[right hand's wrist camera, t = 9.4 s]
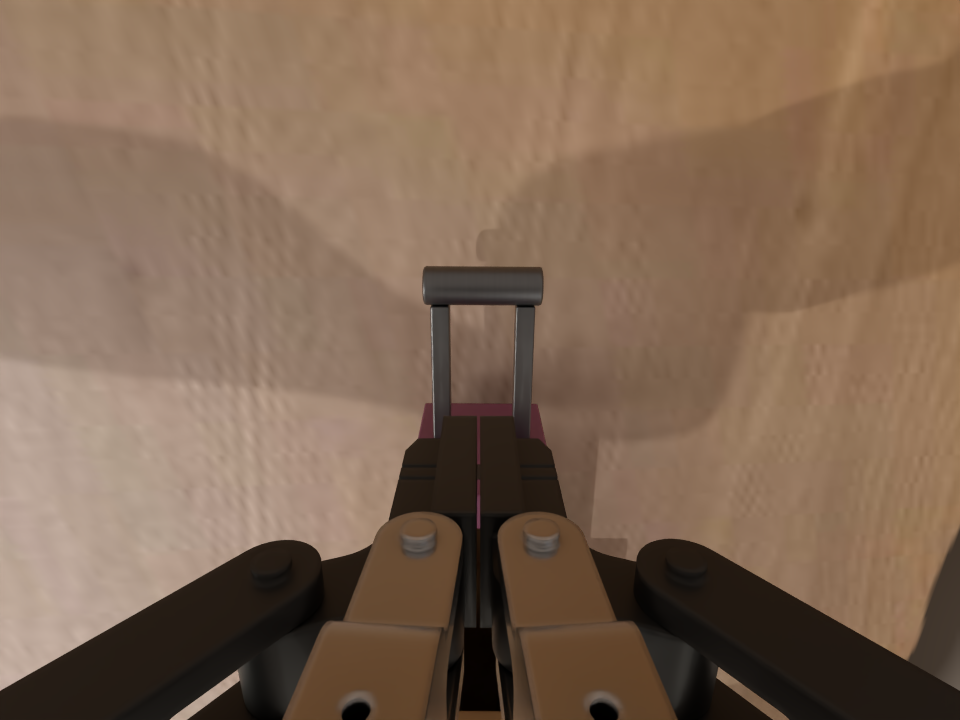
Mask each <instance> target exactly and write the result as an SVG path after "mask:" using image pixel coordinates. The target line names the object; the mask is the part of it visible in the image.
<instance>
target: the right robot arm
mask: <svg viewBox="0 0 960 720" xmlns="http://www.w3.org/2000/svg"><path fill="white" fill-rule="evenodd" d="M476 591H477V416H443V423H442V430H441V438H418V439H417V440H416V441H415V442H414V443H413V444H412V445H411V446H410V447H409V448H408V449H407V450H406V451H405V455H404V459H403V463H402V468H401V472H400V476H399V480H398V484H397V488H396V492H395V496H394V501H393V505H392V509H391V513H390V517H389V521H388V522H386V523H385V524H384V525H383V526H382V527H381V528H380V529H379V531H378V532H377V534H376V536H375V539H374V541H373V544H371V545H370V546H368V547H367V548H365V549H363V550H361V551H358V552H356V553H353V554H350V555H346V556H343V557H338V558H334V559H329V560H325V561H321V557H320V555H319V553H318V551H317V550H316V549H315V548H314V547H312V546H311V545H309V544H307V543H304V542H301V541H295V540H280V541H273V542H268V543H265V544H261V545H259V546H256V547H254V548H252V549H250V550H248V551H246V552H244V553H242V554H240V555H239V556H237V557H235V558H233V559H232V560H230V561H228V562H226V563H225V564H223V565H221V566H219V567H218V568H216V569H214V570H212V571H210V572H209V573H207V574H205V575H203V576H202V577H200V578H198V579H196V580H195V581H193V582H191V583H189V584H188V585H186V586H184V587H182V588H181V589H179V590H177V591H175V592H173V593H172V594H170V595H168V596H166V597H165V598H163V599H161V600H159V601H158V602H156V603H154V604H152V605H151V606H149V607H147V608H145V609H144V610H142V611H140V612H138V613H137V614H135V615H133V616H131V617H129V618H128V619H126V620H124V621H122V622H121V623H119V624H117V625H115V626H114V627H112V628H110V629H108V630H107V631H105V632H103V633H101V634H100V635H98V636H96V637H94V638H92V639H91V640H89V641H87V642H85V643H84V644H82V645H80V646H78V647H77V648H75V649H73V650H71V651H70V652H68V653H66V654H64V655H63V656H61V657H59V658H57V659H56V660H54V661H52V662H50V663H48V664H47V665H45V666H43V667H41V668H40V669H38V670H36V671H34V672H33V673H31V674H29V675H27V676H26V677H24V678H22V679H20V680H19V681H17V682H15V683H13V684H11V685H10V686H8V687H6V688H4V689H3V690H1V691H0V720H170V719H171V718H172V717H173V716H174V715H176V714H177V713H178V712H180V711H181V710H182V709H184V708H185V707H186V706H188V705H189V704H191V703H192V702H193V701H195V700H196V699H198V698H199V697H200V696H202V695H203V694H204V693H206V692H207V691H209V690H210V689H211V688H213V687H214V686H215V685H217V684H218V683H220V682H221V681H222V680H224V679H225V678H227V677H228V676H229V675H231V674H232V673H233V672H235V671H236V670H238V673H239V678H240V681H239V682H238V683H236V684H235V685H234V686H232V687H231V688H229V689H228V690H227V691H225V692H224V693H223V694H221V695H220V696H219V697H217V698H216V699H215V700H213V701H212V702H211V703H209V704H208V705H207V706H205V707H204V708H203V709H201V710H200V711H198V712H197V713H196V714H194V715H193V716H192V717H190V718H189V719H188V720H458V717H459V708H460V700H461V691H462V683H463V675H464V627H476ZM480 628H492V646H493V651H494V654H495V656H496V675H497V683H498V691H499V700H500V708H501V717H502V720H772V719H771V718H770V717H768V716H767V715H766V714H764V713H763V712H762V711H760V710H759V709H757V708H756V707H755V706H753V705H752V704H751V703H749V702H748V701H747V700H745V699H744V698H743V697H741V696H740V695H739V694H737V693H736V692H735V691H733V690H732V689H731V688H729V687H728V686H726V685H725V684H724V683H722V682H721V681H720V680H718V679H717V678H716V676H717V671H718V667H720V668H721V669H722V670H724V671H725V672H727V673H728V674H729V675H731V676H732V677H733V678H735V679H736V680H738V681H739V682H740V683H742V684H743V685H744V686H746V687H747V688H749V689H750V690H751V691H753V692H754V693H756V694H757V695H758V696H760V697H761V698H762V699H764V700H765V701H767V702H768V703H769V704H771V705H772V706H773V707H775V708H776V709H778V710H779V711H780V712H782V713H783V714H784V715H785V716H786V717H787V718H788V719H789V720H960V691H959V690H957V689H956V688H954V687H952V686H950V685H948V684H947V683H945V682H943V681H941V680H940V679H938V678H936V677H934V676H933V675H931V674H929V673H927V672H926V671H924V670H922V669H920V668H919V667H917V666H915V665H913V664H911V663H910V662H908V661H906V660H904V659H903V658H901V657H899V656H897V655H896V654H894V653H892V652H890V651H889V650H887V649H885V648H883V647H882V646H880V645H878V644H876V643H875V642H873V641H871V640H869V639H867V638H866V637H864V636H862V635H860V634H859V633H857V632H855V631H853V630H852V629H850V628H848V627H846V626H845V625H843V624H841V623H839V622H838V621H836V620H834V619H832V618H831V617H829V616H827V615H825V614H823V613H822V612H820V611H818V610H816V609H815V608H813V607H811V606H809V605H808V604H806V603H804V602H802V601H801V600H799V599H797V598H795V597H794V596H792V595H790V594H788V593H786V592H785V591H783V590H781V589H779V588H778V587H776V586H774V585H772V584H771V583H769V582H767V581H765V580H764V579H762V578H760V577H758V576H757V575H755V574H753V573H751V572H750V571H748V570H746V569H744V568H742V567H741V566H739V565H737V564H735V563H734V562H732V561H730V560H728V559H727V558H725V557H723V556H721V555H720V554H718V553H716V552H714V551H713V550H711V549H709V548H707V547H705V546H702V545H700V544H697V543H694V542H690V541H686V540H680V539H662V540H657V541H653V542H651V543H649V544H647V545H645V546H644V547H643V548H642V549H641V550H640V551H639V553H638V556H637V561H636V562H635V561H630V560H626V559H621V558H617V557H612V556H609V555H605V554H602V553H600V552H597V551H595V550H593V549H591V548H589V547H588V544H587V541H586V539H585V536H584V534H583V532H582V531H581V529H580V528H579V527H578V526H577V525H576V524H575V523H574V522H572V521H570V520H569V519H567V516H566V512H565V507H564V503H563V499H562V494H561V490H560V486H559V482H558V480H557V473H556V469H555V464H554V460H553V456H552V451H551V450H550V449H549V448H548V447H547V446H546V445H545V444H544V443H543V442H542V441H541V440H540V439H539V438H516V431H515V423H514V416H480Z"/></svg>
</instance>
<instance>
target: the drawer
mask: <svg viewBox="0 0 960 720" xmlns="http://www.w3.org/2000/svg"><path fill="white" fill-rule="evenodd" d="M422 288H423V301H424V303H425V304H426V305H431V308H430V314H431V356H432V397H433V403H426V404H425V408H424V413H423V417H422V422H421V427H420V432H419V436H418V438H441V430H442V423H443V416H477V591H476V627H464V675H463V683H462V691H461V700H460V708H459V711H501V708H500V700H499V691H498V683H497V675H496V656H495V654H494V651H493V646H492V628H480V416H514V423H515V431H516V438H539V439H540V440H541V441H542V442H543V443H544V444H545V445H546V441H545V437H544V432H543V427H542V423H541V418H540V414H539V409H538V405H537V404H531V398H532V373H533V349H534V324H535V306H534V305H541V303H542V299H543V271H542V268H541V267H450V266H426V267H424V270H423V281H422ZM450 305H515V329H514V364H513V399H512V404H467V403H451V339H450Z"/></svg>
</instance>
